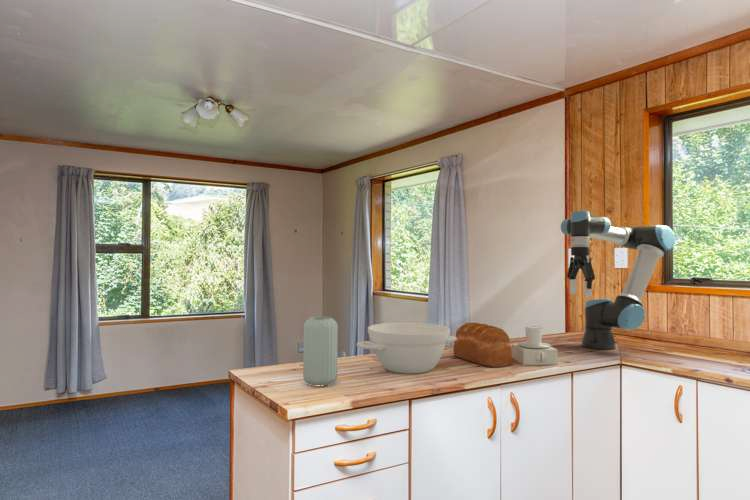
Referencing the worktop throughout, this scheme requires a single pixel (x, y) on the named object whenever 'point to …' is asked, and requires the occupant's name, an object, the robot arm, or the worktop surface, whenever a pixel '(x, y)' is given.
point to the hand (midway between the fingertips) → (580, 295)
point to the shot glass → (533, 335)
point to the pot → (408, 345)
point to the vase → (320, 350)
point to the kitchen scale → (535, 354)
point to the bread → (483, 345)
